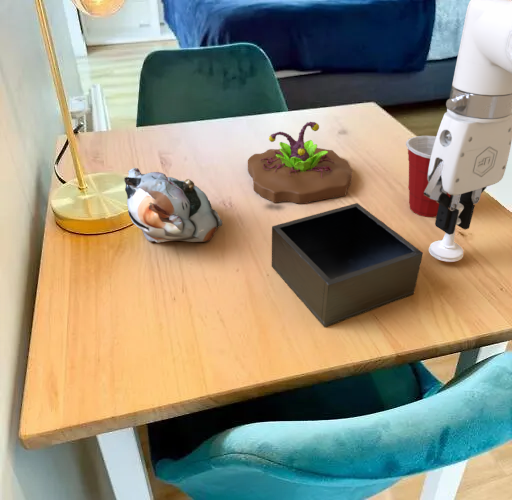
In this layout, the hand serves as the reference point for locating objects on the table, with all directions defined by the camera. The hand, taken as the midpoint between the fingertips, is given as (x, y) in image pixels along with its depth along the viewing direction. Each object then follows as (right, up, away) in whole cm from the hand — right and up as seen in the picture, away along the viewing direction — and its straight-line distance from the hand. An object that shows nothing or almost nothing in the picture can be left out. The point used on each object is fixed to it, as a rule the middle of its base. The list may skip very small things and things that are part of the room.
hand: (451, 226), depth 73 cm
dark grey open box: (-16, -8, -1) cm, 18 cm away
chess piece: (0, -4, +3) cm, 5 cm away
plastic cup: (+2, +4, +16) cm, 16 cm away
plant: (-20, +10, +25) cm, 34 cm away
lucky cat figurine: (-41, -1, +9) cm, 42 cm away
